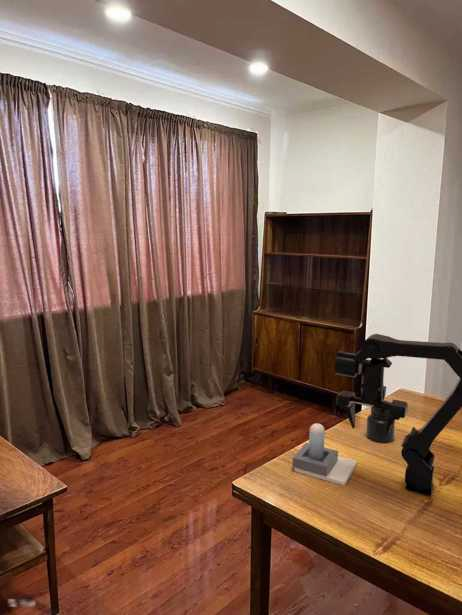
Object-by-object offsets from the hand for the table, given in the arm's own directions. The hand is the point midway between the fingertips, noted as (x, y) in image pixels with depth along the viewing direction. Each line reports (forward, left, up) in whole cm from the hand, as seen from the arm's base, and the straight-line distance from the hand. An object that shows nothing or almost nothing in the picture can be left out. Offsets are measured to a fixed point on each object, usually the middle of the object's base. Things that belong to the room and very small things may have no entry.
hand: (369, 431), depth 126 cm
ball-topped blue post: (+14, +4, -12) cm, 19 cm away
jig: (+11, +3, -13) cm, 18 cm away
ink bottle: (+2, -25, -13) cm, 28 cm away
